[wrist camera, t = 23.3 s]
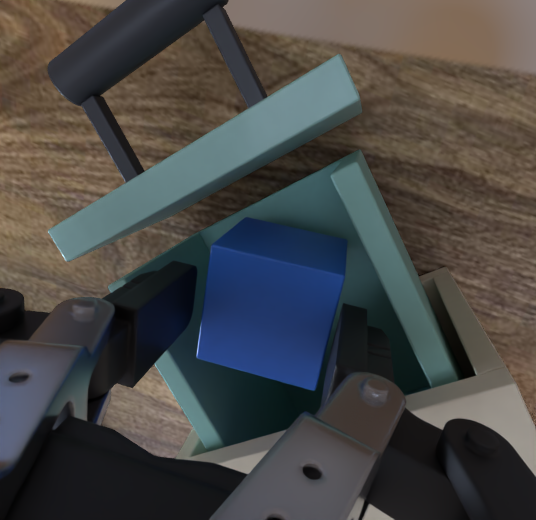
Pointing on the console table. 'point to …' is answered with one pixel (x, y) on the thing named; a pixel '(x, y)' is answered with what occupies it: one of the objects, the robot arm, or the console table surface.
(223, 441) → the teal pull-out drawer
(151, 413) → the console table surface
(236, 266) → the blue toy cube
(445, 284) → the tan drawer cabinet
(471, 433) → the robot arm
